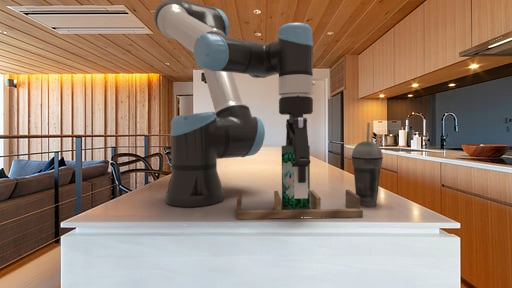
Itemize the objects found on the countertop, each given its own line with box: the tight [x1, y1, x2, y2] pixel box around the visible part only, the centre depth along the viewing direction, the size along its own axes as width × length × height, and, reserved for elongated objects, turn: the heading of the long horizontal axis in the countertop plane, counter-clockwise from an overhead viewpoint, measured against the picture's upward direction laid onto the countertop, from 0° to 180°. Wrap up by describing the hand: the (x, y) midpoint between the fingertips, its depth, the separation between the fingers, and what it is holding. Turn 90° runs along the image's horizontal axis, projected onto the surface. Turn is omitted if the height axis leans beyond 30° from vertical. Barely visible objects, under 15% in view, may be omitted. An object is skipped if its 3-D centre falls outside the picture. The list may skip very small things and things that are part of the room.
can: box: [281, 144, 311, 210], centre depth 69 cm, size 6×6×15 cm
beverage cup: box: [351, 122, 384, 208], centre depth 74 cm, size 7×7×20 cm
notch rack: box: [236, 189, 364, 220], centre depth 68 cm, size 27×9×4 cm, turn 91°
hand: (296, 191), depth 69 cm, fingers open, 13 cm apart
